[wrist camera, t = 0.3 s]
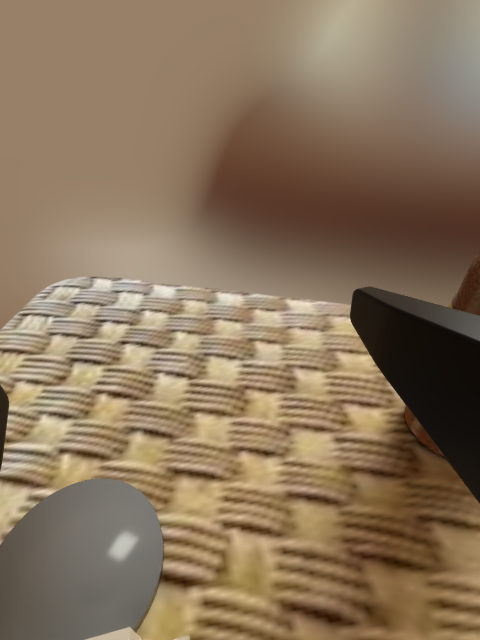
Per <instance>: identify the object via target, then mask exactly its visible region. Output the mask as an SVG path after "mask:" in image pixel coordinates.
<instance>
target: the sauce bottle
mask: <svg viewBox="0 0 480 640" xmlns="http://www.w3.org/2000/svg"><path fill="white" fill-rule="evenodd" d="M449 308H453V309H456V310H460V311H464V312H468V313H471V314H475V315H479V316H480V252H479V254H478V255H477V256H476V258H475V259H474V260H473V261H472V263H471V265H470V267H469V269H468V271H467V274H466V276H465V278H464V280H463V282H462V284H461V287H460V288H459V291H458V293H457V294H456V295H455V296H454V297H453V298H452V300H451V303H450V305H449ZM405 420H406V422H407V425H408V427H409V429H410V430H411V431H412V433H413V434H414V435H415V436H416V438H417V439H418V440H419V441H420V442H421V443H422V444H424V445H425V446H426V447H427V448H429V449H430V450H432V451H433V452H434V453H436V454H438V455H441V456H444V455H443V454H442V452H441V451H440V450H439V448H438V447H437V446H436V444H435V443H434V442H433V440H432V439H431V438H430V436H429V435H428V434H427V432H426V431H425V430H424V428H423V427H422V426H421V424H420V423H419V422H418V420H417V419H416V418H415V416H414V415H413V414H412V412H411V411H410V410H409V408H408V407H407V406H406V408H405ZM444 457H445V456H444Z"/></svg>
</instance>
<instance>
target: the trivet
mask: <svg viewBox="0 0 480 640" xmlns="http://www.w3.org/2000/svg"><path fill="white" fill-rule="evenodd" d="M163 561H164V542H163V534H162V530H161V526H160V523H159V520H158V518H157V515H156V512H155V510H154V508H153V507H152V505H151V503H150V502H149V500H148V499H147V498H146V497H145V496H144V495H143V494H142V493H141V492H140V491H139V490H138V489H136V488H135V487H133V486H131V485H129V484H127V483H125V482H122V481H118V480H114V479H91V480H85V481H81V482H78V483H75V484H72V485H69V486H67V487H65V488H63V489H61V490H59V491H57V492H55V493H53V494H52V495H50V496H48V497H47V498H45V499H44V500H43V501H41V502H40V503H39V504H37V505H36V506H35V507H34V508H32V509H31V510H30V511H29V512H28V513H27V514H26V515H25V516H24V517H23V518H22V519H21V520H20V521H19V522H18V523H17V524H16V525H15V527H14V528H13V529H12V530H11V531H10V533H9V534H8V535H7V537H6V538H5V540H4V541H3V542H2V544H1V545H0V640H85V639H89V638H92V637H96V636H100V635H103V634H107V633H110V632H114V631H117V630H121V629H124V628H128V627H130V628H131V629H132V630H133V631H134V632H135V633H136V631H137V630H138V628H139V627H140V625H141V624H142V622H143V620H144V619H145V617H146V615H147V613H148V611H149V609H150V607H151V605H152V603H153V601H154V598H155V595H156V592H157V589H158V587H159V583H160V579H161V575H162V569H163Z"/></svg>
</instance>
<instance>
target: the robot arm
mask: <svg viewBox="0 0 480 640" xmlns="http://www.w3.org/2000/svg"><path fill="white" fill-rule="evenodd" d="M350 319H351V322H352V325H353V326H354V328H355V330H356V331H357V333H358V335H359V337H360V338H361V340H362V342H363V343H364V345H365V347H366V348H367V350H368V352H369V354H370V355H371V357H372V359H373V360H374V362H375V363H376V365H377V366H378V368H379V369H380V371H381V372H382V374H383V375H384V376H385V378H386V379H387V380H388V382H389V383H390V384H391V386H392V387H393V388H394V390H395V391H396V392H397V394H398V395H399V396H400V398H401V399H402V400H403V402H404V403H405V404H406V406H407V407H408V408H409V410H410V411H411V412H412V414H413V415H414V416H415V418H416V419H417V420H418V422H419V423H420V424H421V426H422V427H423V428H424V430H425V431H426V432H427V434H428V435H429V436H430V438H431V439H432V440H433V442H434V443H435V444H436V446H437V447H438V448H439V450H440V451H441V452H442V454H443V455H444V456H445V458H446V459H447V460H448V462H449V463H450V464H451V466H452V467H453V468H454V470H455V471H456V472H457V474H458V475H459V476H460V478H461V479H462V480H463V482H464V483H465V484H466V486H467V487H468V489H469V490H470V491H471V493H472V494H473V495H474V497H475V498H476V499H477V501H478V502H479V503H480V316H479V315H475V314H471V313H468V312H464V311H460V310H456V309H453V308H449V307H445V306H441V305H437V304H433V303H430V302H426V301H423V300H418V299H415V298H411V297H408V296H404V295H400V294H396V293H392V292H389V291H385V290H381V289H377V288H373V287H364V288H359V289H356V290H355V291H354V292H353V296H352V304H351V311H350ZM8 410H9V400H8V396H7V394H6V393H5V391H4V390H3V388H2V387H1V385H0V470H1V465H2V458H3V451H4V443H5V435H6V426H7V418H8Z"/></svg>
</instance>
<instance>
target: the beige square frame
mask: <svg viewBox="0 0 480 640" xmlns="http://www.w3.org/2000/svg"><path fill="white" fill-rule="evenodd" d="M85 640H142V639H141V638H140V637H139V636H138V635H137V634H136V633H135V632H134V631H133V630H132V629H131V628H130V627H128V628H124V629H121V630H117V631H114V632H110V633H107V634H103V635H100V636H96V637H92V638H89V639H85ZM174 640H190V639H189V635H187V636H184V637H180V638H177V639H174Z"/></svg>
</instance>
